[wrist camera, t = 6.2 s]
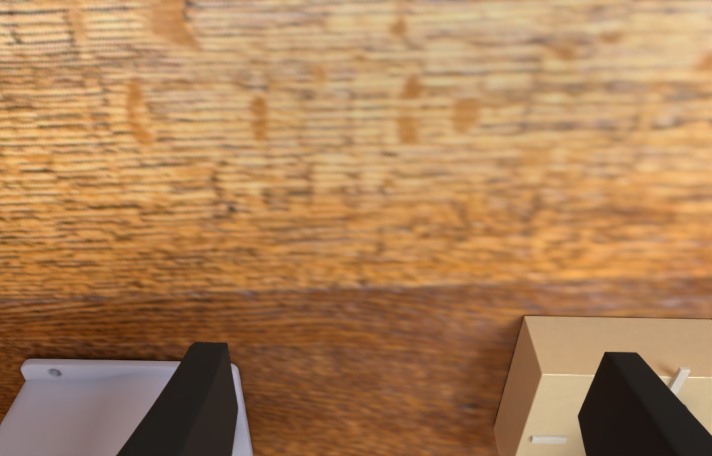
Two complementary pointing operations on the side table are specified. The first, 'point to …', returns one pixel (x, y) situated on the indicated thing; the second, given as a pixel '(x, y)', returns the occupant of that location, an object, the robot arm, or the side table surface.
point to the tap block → (578, 367)
